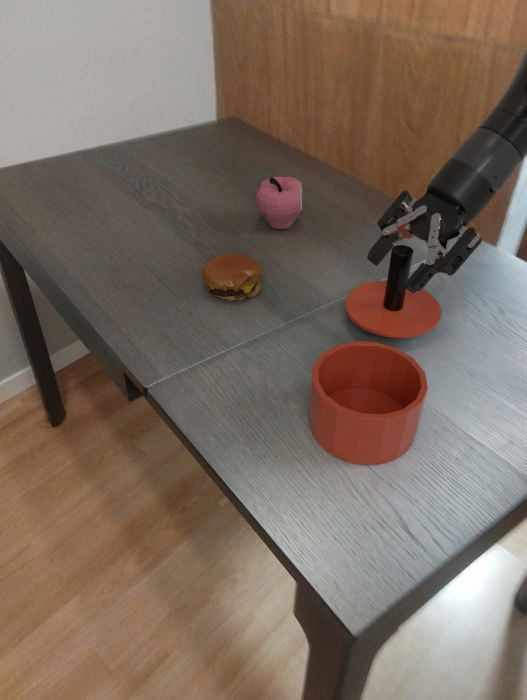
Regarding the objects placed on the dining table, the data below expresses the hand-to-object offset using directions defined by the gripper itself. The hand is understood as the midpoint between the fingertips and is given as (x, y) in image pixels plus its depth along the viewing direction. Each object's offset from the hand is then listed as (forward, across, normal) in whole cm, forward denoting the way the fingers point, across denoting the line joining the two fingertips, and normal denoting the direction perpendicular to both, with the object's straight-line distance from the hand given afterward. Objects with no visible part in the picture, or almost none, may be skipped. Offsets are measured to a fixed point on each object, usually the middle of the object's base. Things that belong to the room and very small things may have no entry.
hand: (389, 275), depth 72 cm
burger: (+16, -20, -4) cm, 26 cm away
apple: (+4, -35, +8) cm, 36 cm away
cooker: (+16, +14, -4) cm, 21 cm away
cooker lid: (+3, 0, +6) cm, 6 cm away
